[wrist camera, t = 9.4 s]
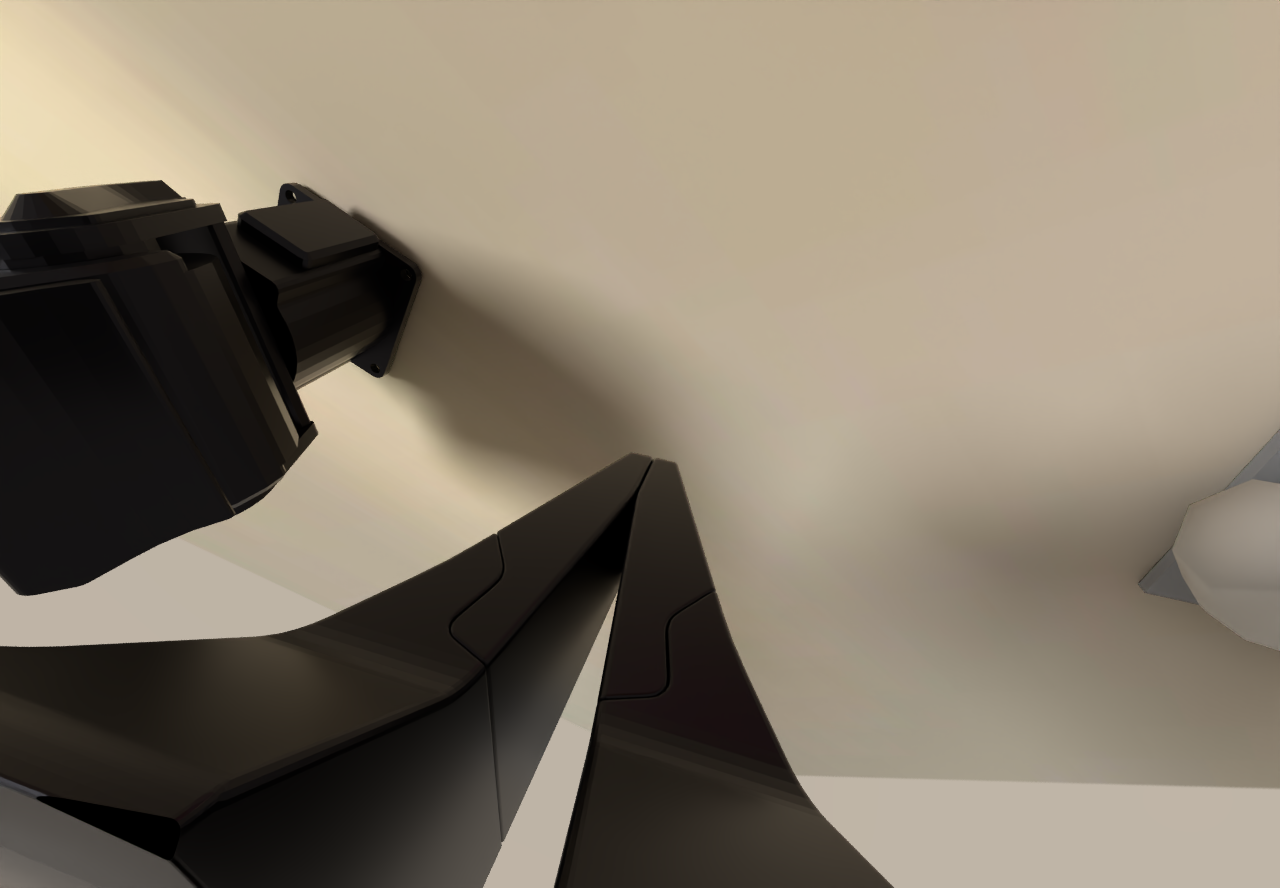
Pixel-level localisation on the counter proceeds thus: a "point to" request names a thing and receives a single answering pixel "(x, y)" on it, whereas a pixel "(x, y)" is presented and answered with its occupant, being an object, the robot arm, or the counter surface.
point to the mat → (1268, 465)
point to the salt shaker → (1236, 559)
